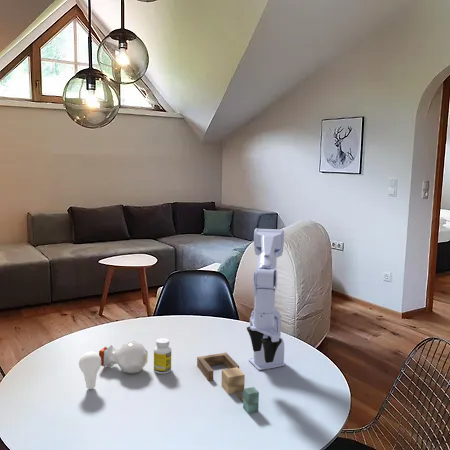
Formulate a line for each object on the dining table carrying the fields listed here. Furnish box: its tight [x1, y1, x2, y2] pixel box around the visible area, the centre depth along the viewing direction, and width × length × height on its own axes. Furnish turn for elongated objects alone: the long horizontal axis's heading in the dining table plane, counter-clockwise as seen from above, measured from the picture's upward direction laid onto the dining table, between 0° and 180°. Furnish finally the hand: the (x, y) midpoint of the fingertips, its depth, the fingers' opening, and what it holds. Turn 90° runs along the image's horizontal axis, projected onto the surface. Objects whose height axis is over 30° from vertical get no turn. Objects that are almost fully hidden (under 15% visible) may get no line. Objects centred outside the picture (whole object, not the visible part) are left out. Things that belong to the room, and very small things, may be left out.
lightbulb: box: [78, 351, 102, 390], centre depth 129 cm, size 6×6×11 cm
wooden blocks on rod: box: [221, 367, 260, 414], centre depth 126 cm, size 5×16×6 cm, turn 22°
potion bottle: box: [98, 341, 149, 375], centre depth 141 cm, size 9×10×15 cm
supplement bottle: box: [153, 337, 172, 375], centre depth 141 cm, size 5×5×10 cm
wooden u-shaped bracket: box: [196, 352, 240, 382], centre depth 142 cm, size 10×10×3 cm
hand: (262, 356), depth 130 cm, fingers open, 7 cm apart
